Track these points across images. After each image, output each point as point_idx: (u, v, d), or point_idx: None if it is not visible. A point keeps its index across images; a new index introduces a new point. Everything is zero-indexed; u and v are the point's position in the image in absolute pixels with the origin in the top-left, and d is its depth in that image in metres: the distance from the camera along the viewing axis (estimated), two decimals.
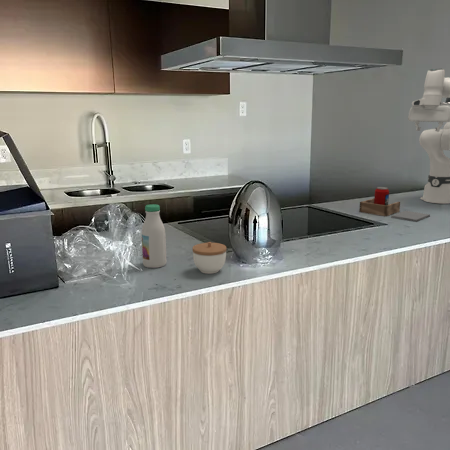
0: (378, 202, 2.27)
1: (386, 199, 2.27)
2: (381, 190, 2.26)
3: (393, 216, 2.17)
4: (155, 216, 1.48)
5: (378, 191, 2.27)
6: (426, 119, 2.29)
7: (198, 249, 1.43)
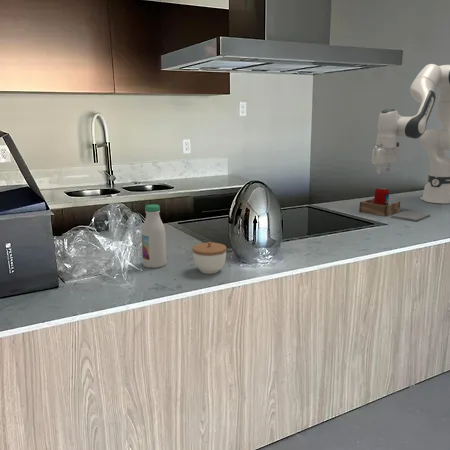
0: (378, 202, 2.27)
1: (386, 199, 2.27)
2: (381, 190, 2.26)
3: (393, 216, 2.17)
4: (155, 216, 1.48)
5: (378, 191, 2.27)
6: None
7: (198, 249, 1.43)
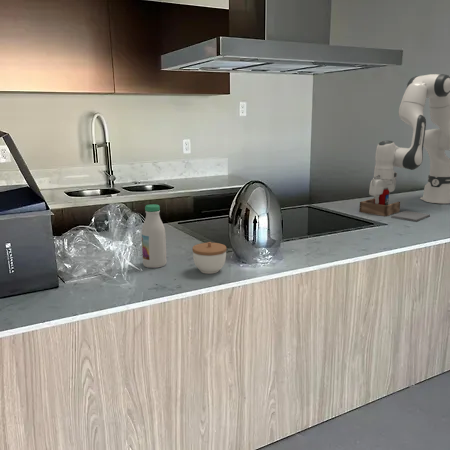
0: None
1: (386, 199, 2.27)
2: None
3: (393, 216, 2.17)
4: (155, 216, 1.48)
5: None
6: None
7: (198, 249, 1.43)
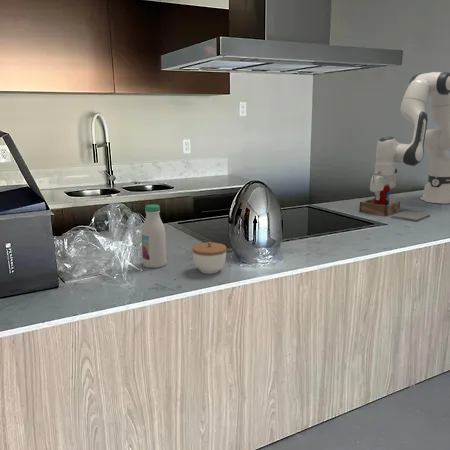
0: None
1: (387, 196, 2.26)
2: None
3: (393, 216, 2.17)
4: (155, 216, 1.48)
5: None
6: None
7: (198, 249, 1.43)
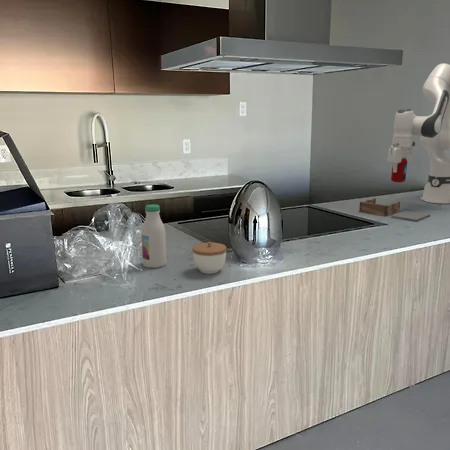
0: (396, 172, 2.27)
1: (404, 169, 2.26)
2: None
3: (393, 216, 2.17)
4: (155, 216, 1.48)
5: None
6: None
7: (198, 249, 1.43)
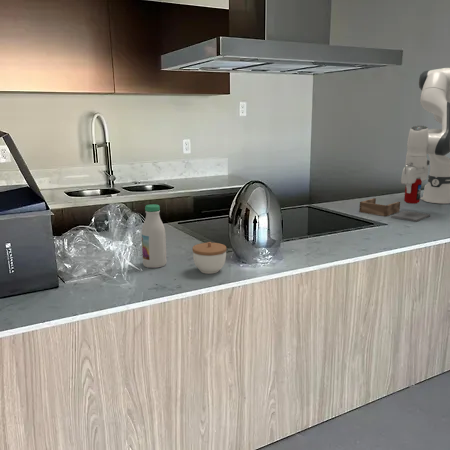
0: (410, 193, 2.14)
1: (418, 189, 2.13)
2: None
3: (393, 216, 2.17)
4: (155, 216, 1.48)
5: None
6: None
7: (198, 249, 1.43)
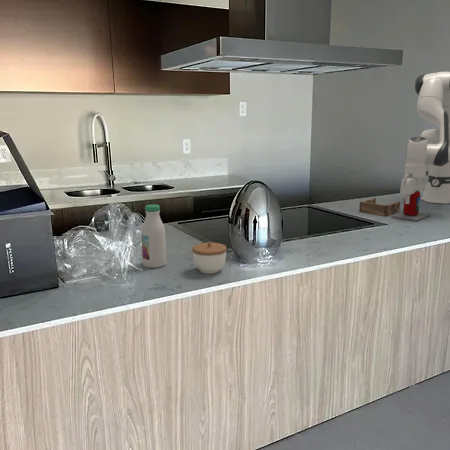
0: (409, 205, 2.15)
1: (417, 202, 2.14)
2: None
3: (393, 216, 2.17)
4: (155, 216, 1.48)
5: None
6: None
7: (198, 249, 1.43)
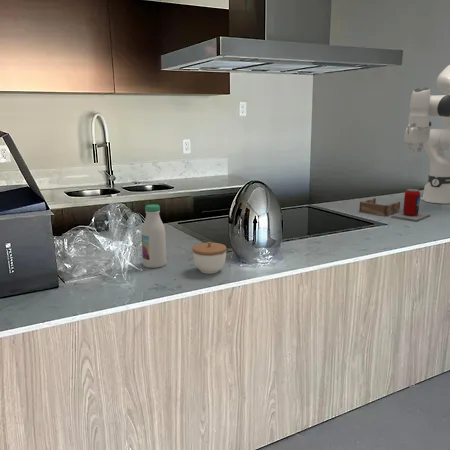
0: (409, 205, 2.15)
1: (417, 202, 2.15)
2: (412, 192, 2.14)
3: (393, 216, 2.17)
4: (155, 216, 1.48)
5: (409, 193, 2.14)
6: None
7: (198, 249, 1.43)
